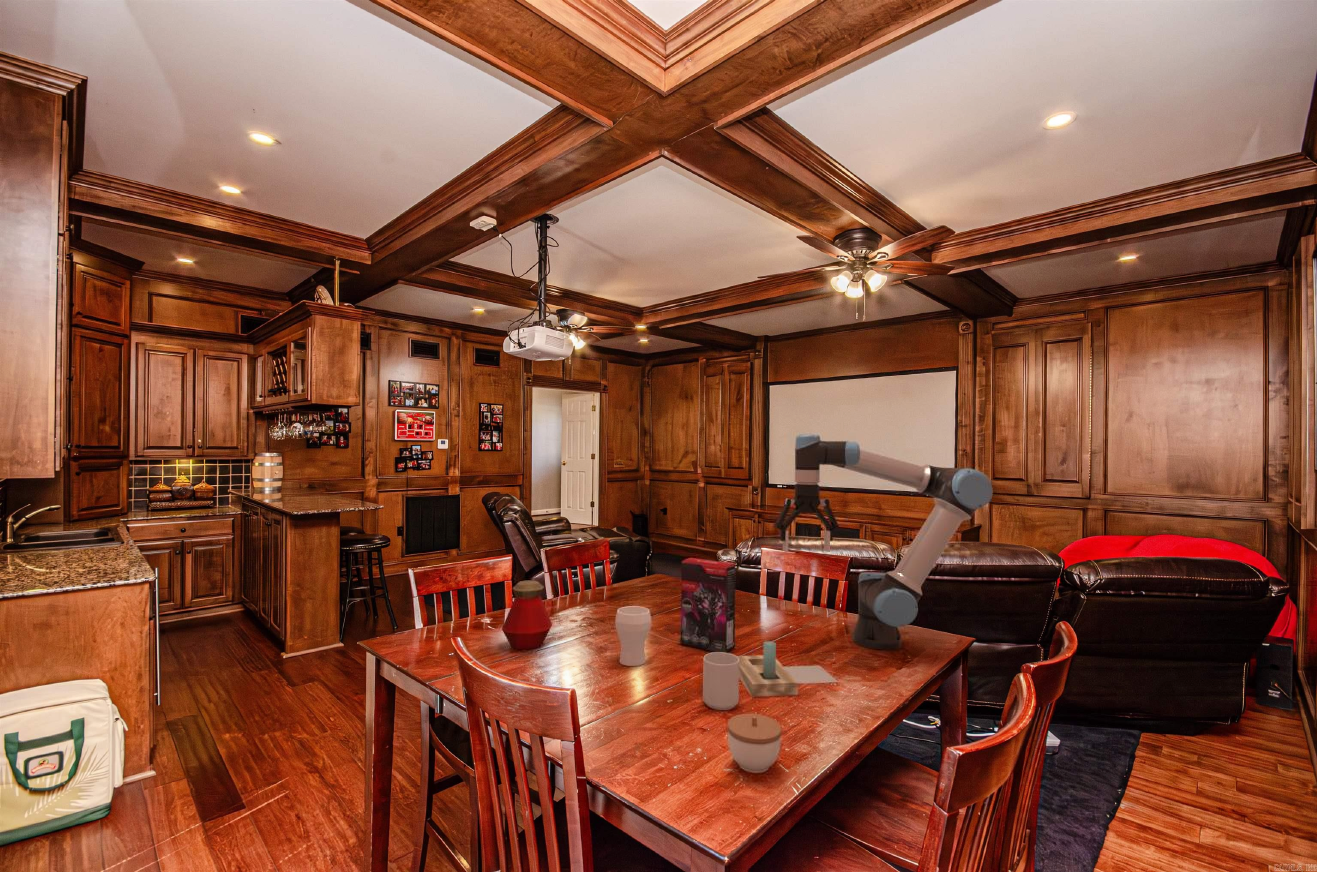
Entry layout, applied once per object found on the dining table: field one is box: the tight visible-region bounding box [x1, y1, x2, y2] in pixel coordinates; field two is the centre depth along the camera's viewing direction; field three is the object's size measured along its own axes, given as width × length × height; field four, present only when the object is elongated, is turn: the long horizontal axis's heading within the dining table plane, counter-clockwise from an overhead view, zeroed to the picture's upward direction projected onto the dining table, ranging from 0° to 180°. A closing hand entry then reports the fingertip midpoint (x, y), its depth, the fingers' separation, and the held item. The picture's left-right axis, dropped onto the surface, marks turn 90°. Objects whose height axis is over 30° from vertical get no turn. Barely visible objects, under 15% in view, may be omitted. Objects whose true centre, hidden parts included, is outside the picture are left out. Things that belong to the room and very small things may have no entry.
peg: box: [762, 640, 777, 680], centre depth 151 cm, size 3×3×12 cm
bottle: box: [501, 580, 553, 651], centre depth 182 cm, size 16×14×20 cm
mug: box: [702, 652, 740, 711], centre depth 144 cm, size 12×9×11 cm
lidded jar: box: [726, 713, 783, 774], centre depth 115 cm, size 11×11×9 cm
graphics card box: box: [679, 557, 737, 653], centre depth 183 cm, size 17×7×27 cm, turn 57°
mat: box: [783, 665, 838, 685], centre depth 161 cm, size 12×12×1 cm
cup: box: [614, 605, 652, 667], centre depth 170 cm, size 11×11×15 cm
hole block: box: [736, 654, 799, 699], centre depth 156 cm, size 12×20×4 cm, turn 8°
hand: (806, 551), depth 180 cm, fingers open, 13 cm apart
